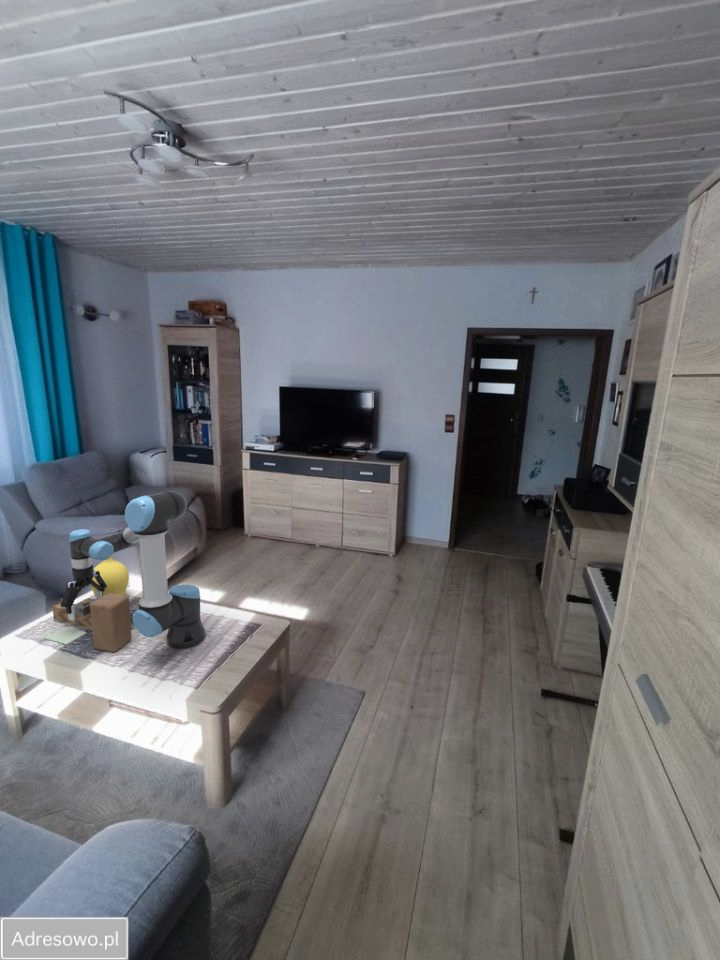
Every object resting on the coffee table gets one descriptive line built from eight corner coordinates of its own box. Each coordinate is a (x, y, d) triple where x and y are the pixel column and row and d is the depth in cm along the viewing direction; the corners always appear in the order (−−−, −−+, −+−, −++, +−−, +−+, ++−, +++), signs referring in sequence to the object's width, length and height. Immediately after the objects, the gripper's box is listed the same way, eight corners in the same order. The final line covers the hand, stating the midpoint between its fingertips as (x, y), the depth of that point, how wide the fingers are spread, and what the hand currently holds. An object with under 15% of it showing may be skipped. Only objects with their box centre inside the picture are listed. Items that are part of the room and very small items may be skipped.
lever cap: (99, 607, 188) (99, 597, 187) (83, 616, 180) (82, 606, 179) (89, 605, 189) (88, 595, 188) (72, 613, 182) (71, 603, 181)
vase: (83, 605, 202) (78, 549, 196) (108, 590, 217) (104, 538, 212) (114, 610, 199) (110, 553, 194) (137, 594, 215) (134, 541, 209)
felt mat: (86, 633, 180) (86, 632, 180) (66, 645, 172) (66, 644, 171) (64, 627, 183) (64, 626, 183) (43, 639, 175) (43, 637, 175)
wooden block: (114, 653, 168) (111, 607, 164) (92, 649, 170) (88, 603, 166) (132, 639, 178) (129, 595, 174) (111, 635, 180) (108, 591, 175)
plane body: (111, 626, 186) (109, 599, 183) (100, 633, 181) (98, 604, 178) (64, 615, 193) (62, 588, 190) (53, 621, 188) (50, 593, 185)
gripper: (100, 554, 193) (103, 597, 198) (47, 576, 170) (51, 624, 174) (114, 556, 191) (116, 600, 196) (61, 579, 168) (66, 628, 172)
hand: (86, 612), depth 185 cm, fingers open, 13 cm apart
